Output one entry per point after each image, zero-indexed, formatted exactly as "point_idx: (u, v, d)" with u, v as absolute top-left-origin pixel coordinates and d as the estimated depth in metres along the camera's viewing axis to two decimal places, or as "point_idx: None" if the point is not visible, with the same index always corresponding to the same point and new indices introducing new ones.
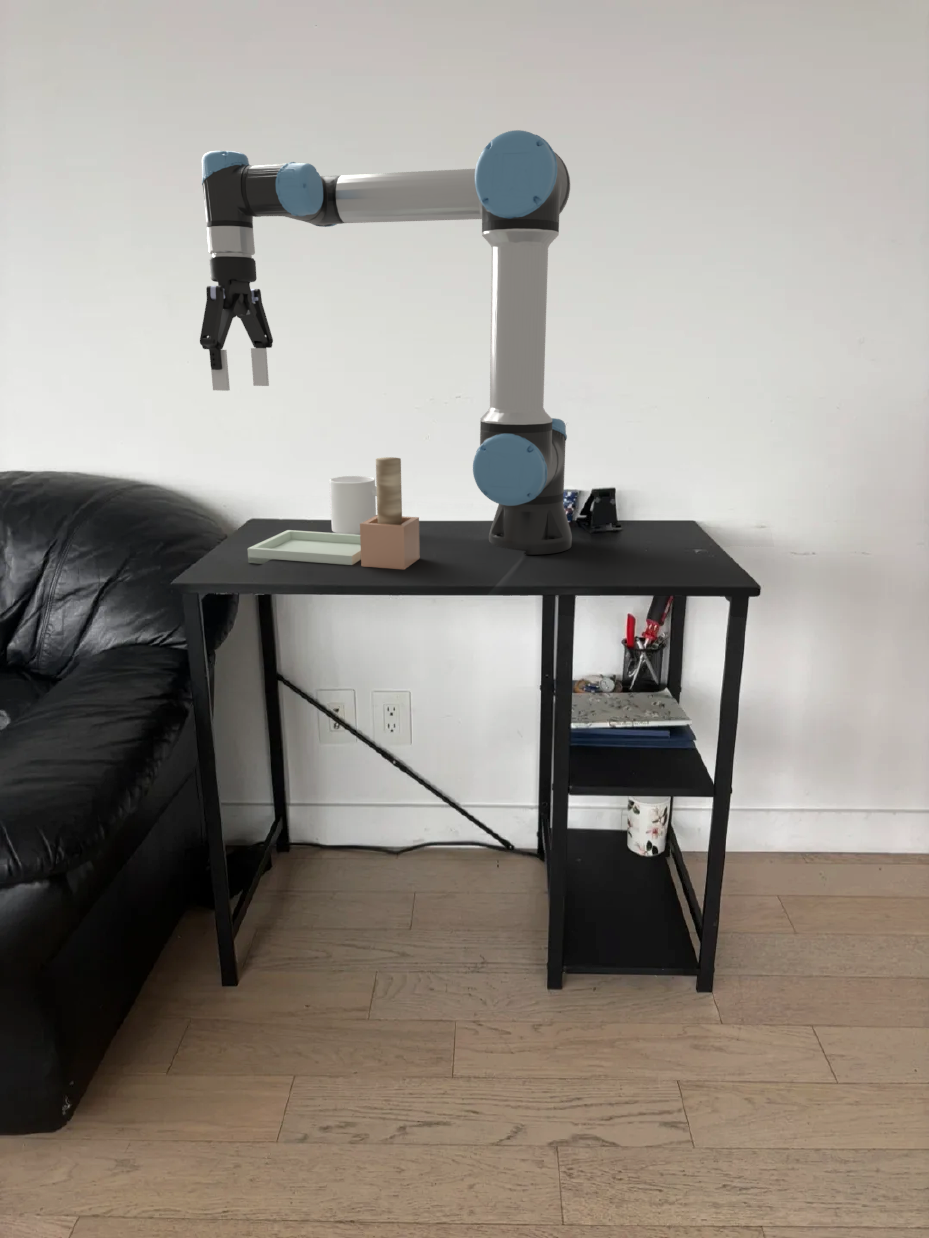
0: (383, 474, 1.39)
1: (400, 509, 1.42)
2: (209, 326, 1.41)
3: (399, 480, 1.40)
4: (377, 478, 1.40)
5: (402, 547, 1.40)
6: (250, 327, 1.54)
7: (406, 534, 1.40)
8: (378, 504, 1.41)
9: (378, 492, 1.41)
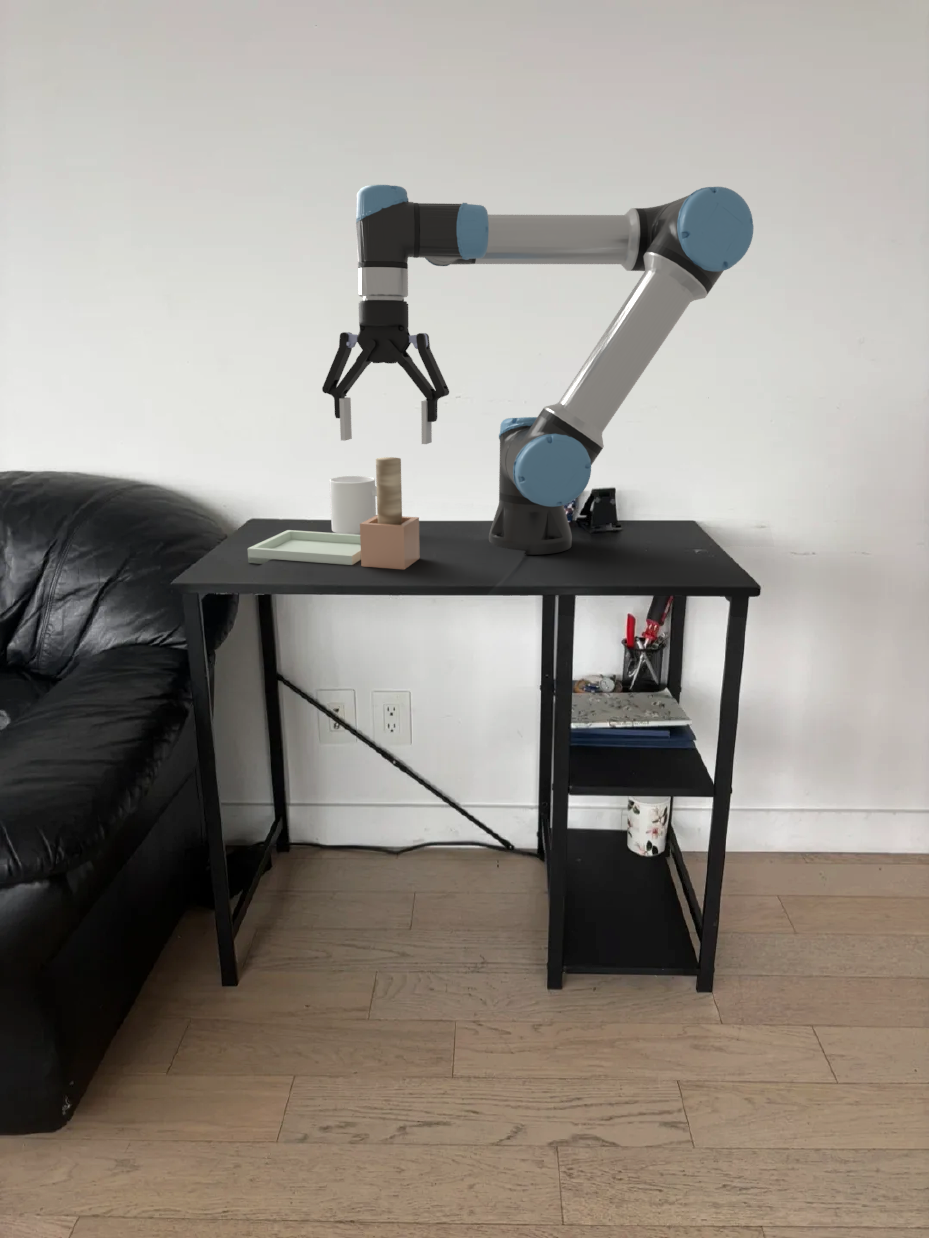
0: (383, 474, 1.39)
1: (400, 509, 1.42)
2: None
3: (399, 480, 1.40)
4: (377, 478, 1.40)
5: (402, 547, 1.40)
6: None
7: (406, 534, 1.40)
8: (378, 504, 1.41)
9: (378, 492, 1.41)
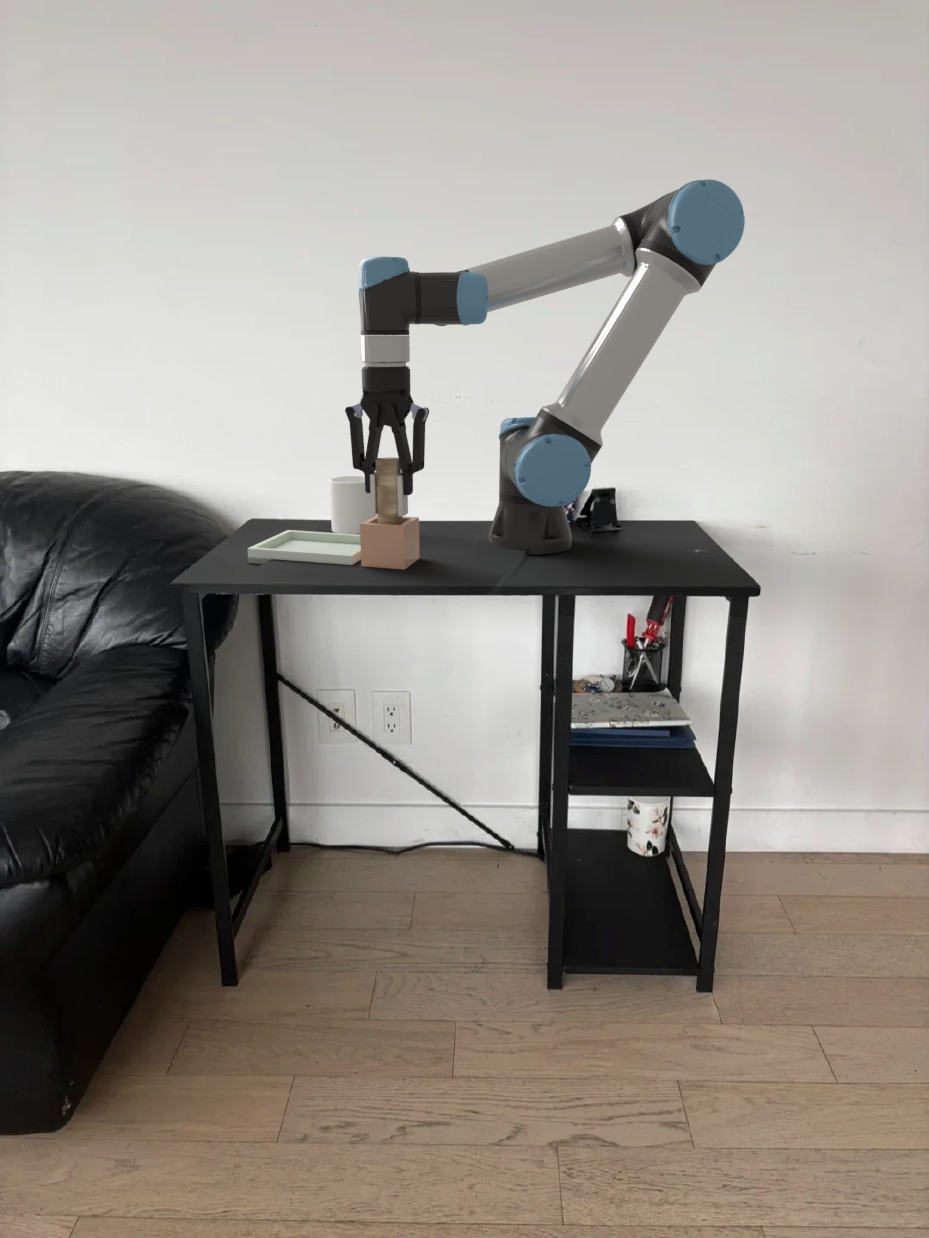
0: (383, 474, 1.39)
1: None
2: None
3: None
4: (377, 478, 1.40)
5: (402, 547, 1.40)
6: None
7: (406, 534, 1.40)
8: (378, 504, 1.41)
9: (378, 492, 1.41)
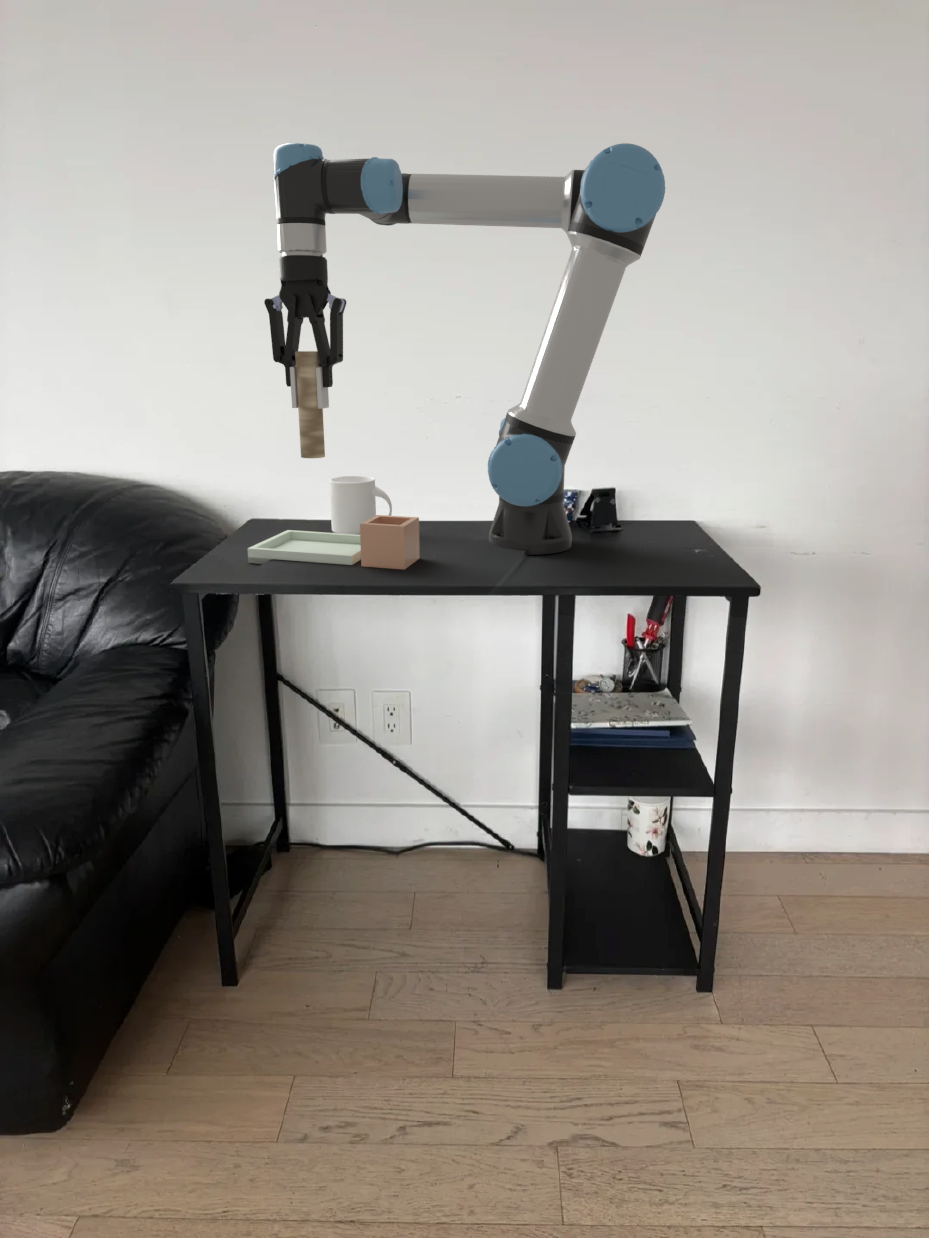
0: (301, 365, 1.41)
1: None
2: None
3: None
4: (296, 370, 1.43)
5: (402, 547, 1.40)
6: None
7: (406, 534, 1.40)
8: (298, 397, 1.44)
9: (298, 384, 1.43)
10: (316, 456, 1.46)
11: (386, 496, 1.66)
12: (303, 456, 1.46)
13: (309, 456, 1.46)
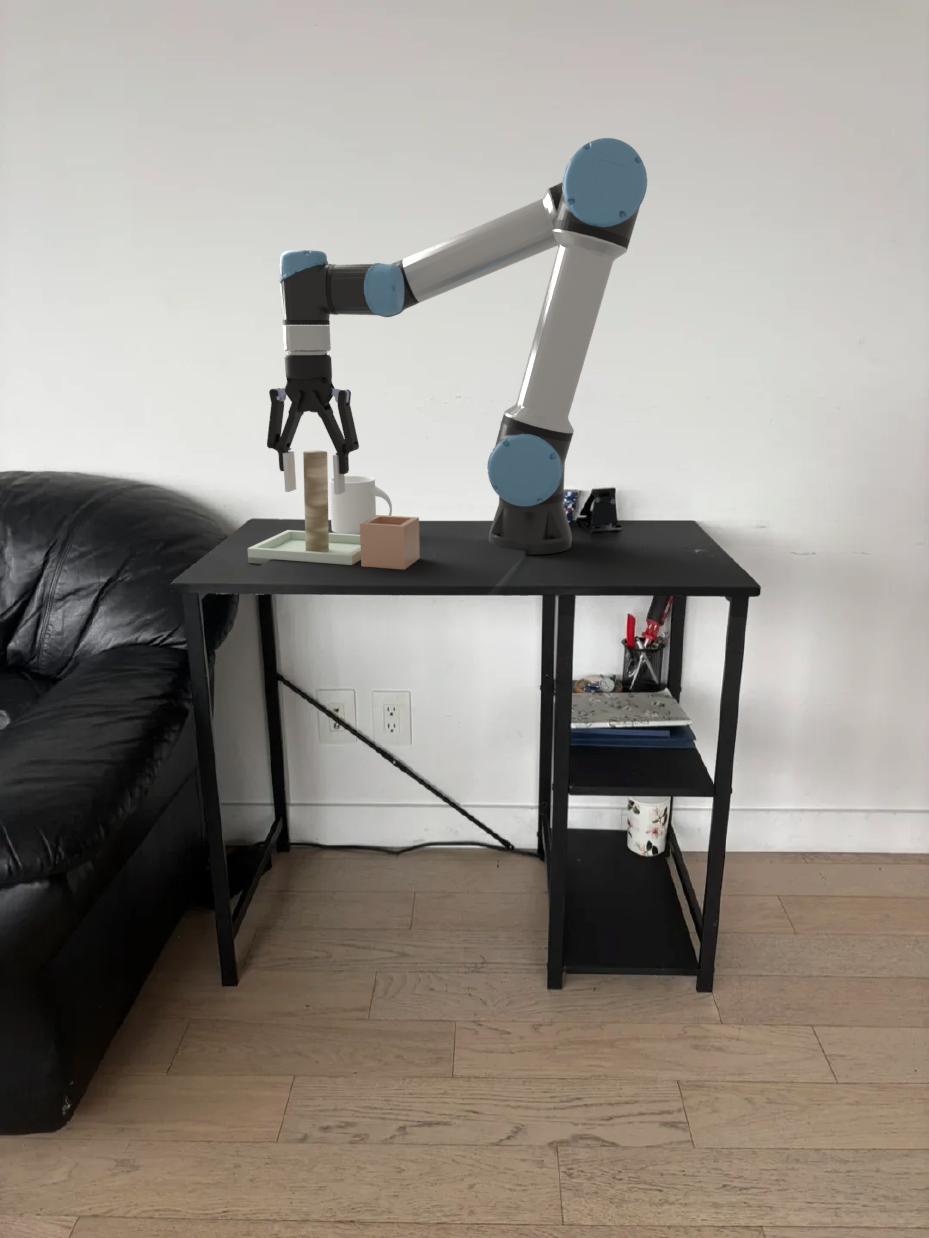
0: (309, 466, 1.47)
1: (326, 500, 1.49)
2: None
3: (325, 472, 1.48)
4: (304, 470, 1.48)
5: (402, 547, 1.40)
6: None
7: (406, 534, 1.40)
8: (305, 495, 1.49)
9: (305, 483, 1.48)
10: (320, 551, 1.51)
11: (386, 496, 1.66)
12: (308, 550, 1.52)
13: (313, 551, 1.51)
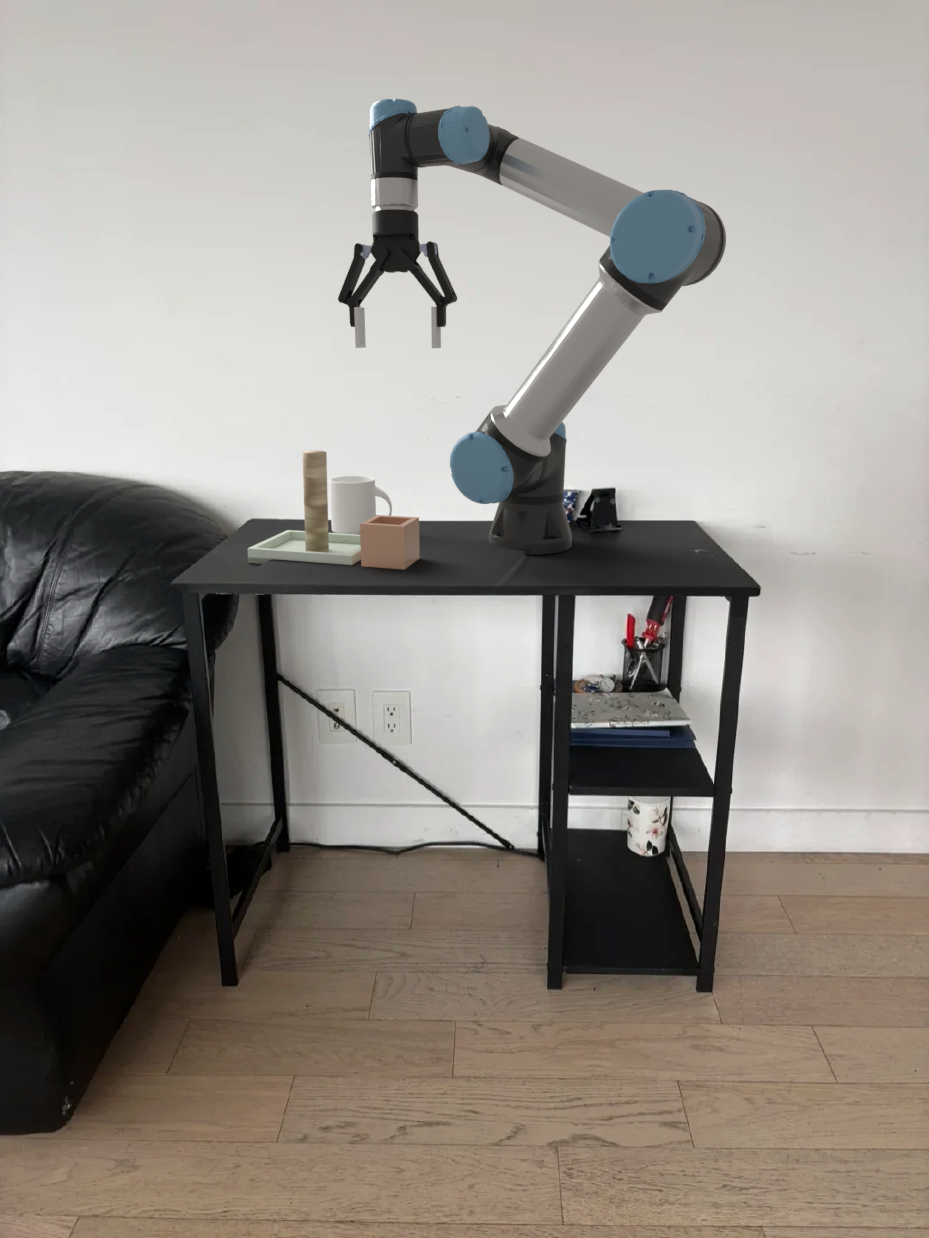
0: (308, 467, 1.46)
1: (325, 500, 1.49)
2: None
3: (324, 473, 1.48)
4: (303, 470, 1.48)
5: (402, 547, 1.40)
6: None
7: (406, 534, 1.40)
8: (304, 495, 1.49)
9: (304, 483, 1.48)
10: (320, 551, 1.51)
11: (386, 496, 1.66)
12: (308, 550, 1.52)
13: (313, 551, 1.51)
